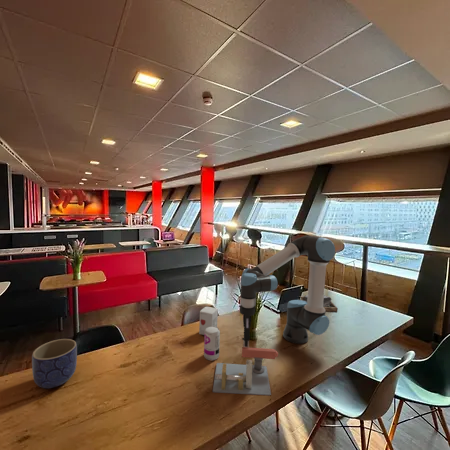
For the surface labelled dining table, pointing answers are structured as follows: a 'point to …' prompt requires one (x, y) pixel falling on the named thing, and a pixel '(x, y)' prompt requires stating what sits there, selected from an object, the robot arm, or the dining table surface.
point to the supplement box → (207, 318)
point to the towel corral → (332, 308)
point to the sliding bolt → (236, 377)
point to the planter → (54, 363)
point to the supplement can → (211, 343)
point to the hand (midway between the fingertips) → (245, 351)
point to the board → (258, 382)
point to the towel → (325, 302)
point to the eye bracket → (240, 383)
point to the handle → (259, 353)
